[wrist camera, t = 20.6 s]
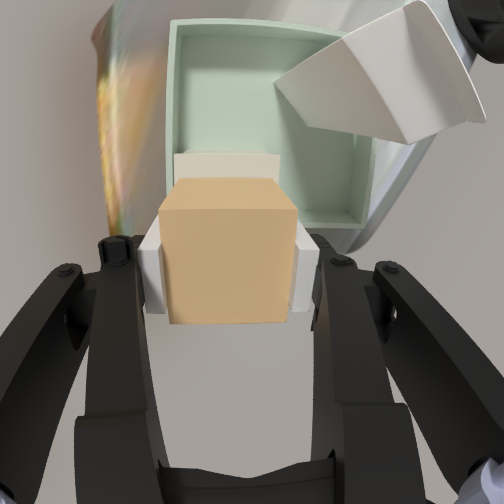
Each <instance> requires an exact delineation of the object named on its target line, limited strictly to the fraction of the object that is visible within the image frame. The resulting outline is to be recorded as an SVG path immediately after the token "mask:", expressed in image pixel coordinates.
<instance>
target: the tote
mask: <svg viewBox="0 0 504 504" xmlns="http://www.w3.org/2000/svg"><path fill="white" fill-rule="evenodd" d="M347 34H349V33H345V32H341V31H336V30H331V29H325V28H320V27H314V26H308V25H301V24H294V23H286V22H276V21H266V20H251V19H224V18H208V19H180V20H171V25H170V37H169V51H168V68H167V92H166V185H167V196H168V194H169V193H170V191H171V190H172V188H173V187H174V154H178V153H184V152H185V151H186V150H261V151H267V152H268V153H269V154H273V155H280V171H279V187H280V188H281V190H282V191H283V192H284V193H285V194H286V195H287V197H288V198H289V199H290V200H291V201H292V203H293V204H294V205H295V206H296V208H297V209H298V217H297V219H298V220H299V221H300V223H301V224H302V226H303V227H304V228H332V229H365V227H366V222H367V216H368V209H369V203H370V196H371V189H372V182H373V175H374V167H375V158H376V149H377V139H378V138H374V137H369V136H364V135H358V134H353V133H347V132H341V131H335V130H328V129H321V128H314V127H308V126H307V125H306V124H305V123H304V121H303V120H302V119H301V117H300V116H299V115H298V113H297V112H296V111H295V109H294V108H293V107H292V105H291V104H290V103H289V101H288V100H287V99H286V97H285V96H284V95H283V94H282V92H281V91H280V90H279V89H278V87H277V86H276V85H275V84H274V81H275V80H276V79H278V78H279V77H281V76H282V75H284V74H285V73H286V72H288V71H289V70H291V69H292V68H294V67H295V66H297V65H298V64H300V63H301V62H303V61H305V60H306V59H308V58H309V57H311V56H312V55H314V54H316V53H317V52H319V51H320V50H322V49H324V48H325V47H327V46H328V45H330V44H332V43H333V42H335V41H337V40H339V39H340V38H342V37H344V36H346V35H347Z"/></svg>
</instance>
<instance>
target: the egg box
mask: <svg viewBox="0 0 504 504" xmlns="http://www.w3.org/2000/svg"><path fill="white" fill-rule="evenodd" d="M279 171H280V155H273V154H269V153H268V152H267V151H261V150H186V151H185V152H184V153H178V154H174V185H175V184H176V182H177V181H178V179H179V178H213V177H233V178H272V179H273V180H274V181H275V182H276V184H277V185H278V186H279Z"/></svg>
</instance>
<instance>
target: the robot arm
mask: <svg viewBox="0 0 504 504" xmlns="http://www.w3.org/2000/svg"><path fill="white" fill-rule="evenodd" d="M448 1H449V5H450V8H451V11H452V14H453V17H454V19H455V21H456V23H457V25H458V27H459V29H460V31H461V32H462V34H463V36H464V37H465V39H466V40H467V41H468V43H469V44H470V45H471V46H472V48H473V49H474V50H475V51H476V52H477V53H478V54H479V55H480V56H482V57H483V58H484V59H486V60H488V61H489V62H492V63H496V64H504V0H448ZM98 248H99V254H100V260H101V269H100V271H99V272H94V273H88V274H83V272H82V268H81V266H80V265H78V264H73V263H71V264H68V263H66V264H62V265H60V266H59V267H57V268H55V269H54V270H53V271H51V273H50V274H49V275H48V276H47V277H46V279H45V280H44V281H43V282H42V283H41V284H40V286H39V287H38V288H37V289H36V290H35V292H34V293H33V294H32V295H31V297H30V298H29V299H28V301H27V302H26V303H25V304H24V306H23V307H22V308H21V309H20V311H19V312H18V313H17V315H16V316H15V317H14V319H13V320H12V321H11V323H10V324H9V325H8V327H7V328H6V330H5V331H4V332H3V334H2V335H1V337H0V504H34V503H35V500H36V498H37V495H38V492H39V488H40V485H41V482H42V478H43V474H44V470H45V466H46V463H47V459H48V456H49V452H50V449H51V446H52V442H53V439H54V436H55V433H56V430H57V426H58V424H59V420H60V418H61V415H62V412H63V409H64V406H65V403H66V401H67V398H68V395H69V393H70V390H71V387H72V384H73V382H74V380H75V377H76V374H77V372H78V369H79V367H80V365H81V362H82V360H83V357H84V355H85V353H86V350H87V348H88V346H89V352H88V364H87V379H86V398H85V399H86V400H85V415H84V416H78V417H77V418H76V420H75V427H74V467H75V486H76V498H77V504H435V503H433V502H431V501H429V500H427V499H426V497H425V490H424V483H423V476H422V470H421V464H420V458H419V453H418V448H417V443H416V438H415V433H414V428H413V424H412V419H411V415H410V412H409V409H410V411H411V412H412V415H413V416H414V418H415V420H416V422H417V424H418V426H419V428H420V430H421V432H422V434H423V436H424V438H425V440H426V442H427V444H428V446H429V448H430V450H431V452H432V454H433V456H434V458H435V460H436V463H437V465H438V466H439V468H440V470H441V472H442V474H443V476H444V477H445V479H446V480H447V482H448V483H449V484H450V486H451V487H452V489H453V490H454V491H455V492H456V493H457V494H458V496H459V497H458V500H456V502H455V503H454V504H504V377H503V376H502V375H501V374H500V372H499V371H498V370H497V369H496V367H495V366H494V365H493V364H492V363H491V361H490V360H489V359H488V358H487V356H486V355H485V354H484V353H483V352H482V350H481V349H480V348H479V347H478V346H477V345H476V343H475V342H474V341H473V340H472V339H471V338H470V336H469V335H468V334H467V333H466V332H465V331H464V330H463V329H462V327H461V326H460V325H459V324H458V323H457V322H456V321H455V320H454V319H453V317H452V316H451V315H450V314H449V313H448V312H447V311H446V310H445V309H444V308H443V307H442V306H441V305H440V304H439V303H438V301H437V300H436V299H435V298H434V297H433V296H432V295H431V294H430V293H429V292H428V291H427V290H426V289H425V288H424V287H423V286H422V285H421V284H420V283H419V282H418V281H417V280H416V279H415V278H414V277H413V276H412V275H411V274H410V273H409V272H408V271H407V270H406V269H405V268H404V267H402V266H401V265H399V264H397V263H396V262H392V261H380V262H378V263H376V266H375V270H374V272H373V271H366V270H360V269H358V267H357V265H356V262H355V261H354V260H353V259H351V258H350V257H347V256H344V255H339V254H337V253H336V252H335V250H334V249H333V248H332V247H331V245H330V244H329V243H328V242H327V240H326V239H325V238H323V237H322V236H320V235H318V234H308V233H307V231H306V230H305V228H304V227H303V226H302V224H301V223H300V221H299V220H298V219H297V228H296V239H295V245H294V255H293V264H292V273H291V282H290V290H289V299H288V303H289V306H290V309H291V311H292V312H308V311H310V308H311V302H312V300H313V302H314V304H315V309H314V315H313V320H312V326H311V331H313V330H314V383H313V385H314V386H313V423H312V425H313V426H312V447H311V460H310V461H309V462H302V463H297V464H294V465H291V466H288V467H285V468H282V469H280V470H276V471H273V472H270V473H267V474H264V475H261V476H257V477H254V478H241V477H235V476H230V475H224V474H219V473H214V472H210V471H205V470H201V469H189V468H188V469H187V468H170V466H169V462H168V458H167V454H166V450H165V445H164V441H163V436H162V431H161V427H160V421H159V416H158V411H157V406H156V400H155V395H154V388H153V382H152V376H151V369H150V362H149V355H148V347H147V339H146V330H145V321H144V314H143V309H142V308H143V305H144V303H145V306H146V312H147V313H153V314H155V313H156V314H165V311H166V308H167V303H168V302H167V294H166V285H165V275H164V265H163V254H162V242H160V229H159V215H157V217H156V219H155V220H154V222H153V224H152V225H151V227H150V229H149V231H148V232H147V234H146V235H135V236H133V237H132V238H131V237H129V236H125V235H116V236H110V237H107V238H105V239H103V240H101V241H100V242H99V243H98ZM395 310H396V312H397V316H396V318H395V317H394V313H395ZM386 367H387V368H388V370H389V372H390V374H391V376H392V377H393V379H394V381H395V383H396V385H397V386H398V388H399V390H400V392H401V394H402V396H403V397H404V400H405V401H406V403H407V405H408V406H407V405H406V404H404V403H395V402H394V399H393V395H392V391H391V387H390V382H389V378H388V373H387V369H386ZM408 407H409V409H408Z"/></svg>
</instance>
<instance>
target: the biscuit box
mask: <svg viewBox="0 0 504 504" xmlns="http://www.w3.org/2000/svg"><path fill="white" fill-rule="evenodd" d="M158 215H159V229H160V242H162V254H163V265H164V275H165V285H166V294H167V302H168V303H167V307H168V314H169V321H170V324H249V323H276V322H286V321H287V313H288V305H289V303H288V299H289V290H290V282H291V273H292V264H293V255H294V245H295V239H296V228H297V217H298V209H297V208H296V206H295V205H294V204H293V203H292V201H291V200H290V199H289V198H288V197H287V195H286V194H285V193H284V192H283V191H282V190H281V188H280V187H279V186H278V185H277V184H276V182H275V181H274V180H273V179H272V178H233V177H213V178H179V179H178V181H177V182H176V184H175V185H174V187H173V188H172V190H171V191H170V193H169V194H168V196H167V197H166V199H165V200H164V202H163V203H162V205H161V206H160V208H159V209H158Z"/></svg>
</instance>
